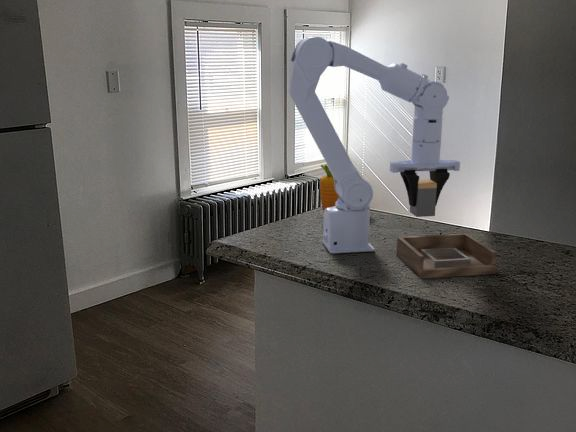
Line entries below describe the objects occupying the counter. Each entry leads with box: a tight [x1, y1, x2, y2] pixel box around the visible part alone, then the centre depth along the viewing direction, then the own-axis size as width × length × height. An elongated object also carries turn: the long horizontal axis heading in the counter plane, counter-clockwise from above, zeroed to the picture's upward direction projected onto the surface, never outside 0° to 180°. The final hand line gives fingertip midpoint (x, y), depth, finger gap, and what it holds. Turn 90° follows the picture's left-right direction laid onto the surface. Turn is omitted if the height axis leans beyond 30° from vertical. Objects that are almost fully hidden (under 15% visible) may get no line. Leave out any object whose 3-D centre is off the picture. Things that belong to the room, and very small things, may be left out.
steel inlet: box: [420, 247, 471, 268], centre depth 120 cm, size 7×7×2 cm
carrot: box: [319, 163, 340, 213], centre depth 148 cm, size 5×5×15 cm
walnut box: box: [396, 232, 498, 279], centre depth 120 cm, size 15×13×4 cm
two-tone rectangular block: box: [409, 178, 437, 218], centre depth 130 cm, size 4×4×7 cm
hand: (422, 204), depth 130 cm, fingers closed on two-tone rectangular block, 4 cm apart
